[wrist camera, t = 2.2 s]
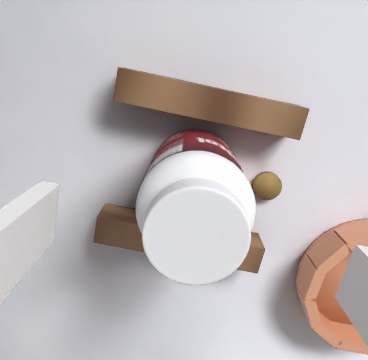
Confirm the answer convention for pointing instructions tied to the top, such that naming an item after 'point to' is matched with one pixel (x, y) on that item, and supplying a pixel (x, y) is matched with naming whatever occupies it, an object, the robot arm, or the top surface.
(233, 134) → the top surface
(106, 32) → the top surface
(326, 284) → the terracotta round dish
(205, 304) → the top surface
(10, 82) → the top surface
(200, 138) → the pill bottle
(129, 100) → the cradle
